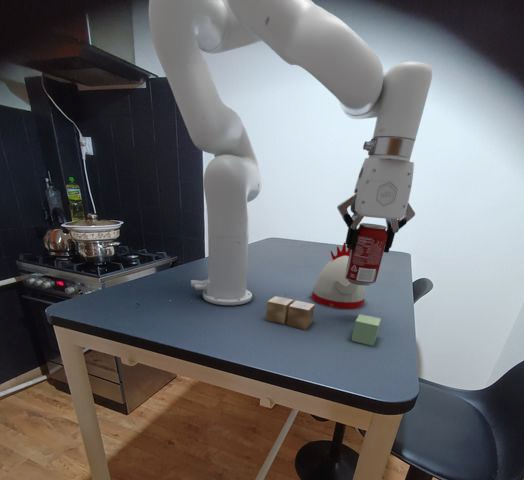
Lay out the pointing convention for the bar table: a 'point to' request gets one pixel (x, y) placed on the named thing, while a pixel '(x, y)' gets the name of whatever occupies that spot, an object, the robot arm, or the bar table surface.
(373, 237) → the soda can
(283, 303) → the maple block
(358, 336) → the sage block
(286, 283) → the bar table surface
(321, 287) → the kitchen timer
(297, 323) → the beech block
